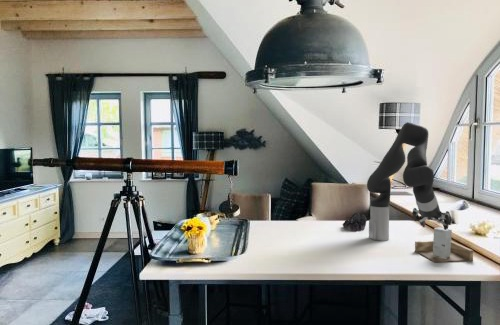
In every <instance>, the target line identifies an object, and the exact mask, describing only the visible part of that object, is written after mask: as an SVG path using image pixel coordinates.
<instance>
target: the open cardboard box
mask: <svg viewBox="0 0 500 325" xmlns="http://www.w3.org/2000/svg"><path fill="white" fill-rule="evenodd" d="M414 252H415V253H417V254H419V255H421V256H422V257H424V258H426V259H427V260H430V261H432V262H433V263H434V264H437V263H455V262H456V263H460V262H461V263H462V262H473V261H474V250H473V249H471V248H469V247H466V246H464V245H462V244H460V243H457V242H455V241H453V240H451V250H450V257H447V258H442V257H439V256H436V255H433V240H426V241H425V240H423V241H422V240H420V241H414Z"/></svg>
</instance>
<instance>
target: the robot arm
mask: <svg viewBox="0 0 500 325" xmlns="http://www.w3.org/2000/svg"><path fill="white" fill-rule="evenodd" d="M428 141H429V130H428V128H427V127H426V126H425V127H424V126H422V125H420V124H416V123H413V122H405V123H404V124H403V125H402V127H401V128H400V129H399V132H398V133H397V135H396V137H395V139H394V142H393V143H392V145H391V146H390V148H389V149H388V151H387V152H386V154H385V155H384V156H383V158H382V160H381V161H380V163H379V165H378V166H377V168H376V169H375V170H374V171H373V172H372V173H371V175H370V176H369V177H368V178H367V182H366V187H367V188H366V189H367V190H368V191H369V193H372V194H379V195H378V196H377V197H375V198H372V199H371V200H370V214H369V215H370V219H369V220H368V238H370V239H371V240H372V241H388V240H390V202H391V190H392V189H391V188H392V186H391V185H392V184H391V177H392V176H393V175H395V174H397V173H398V172H399V171H400V170H401V169H402V167H404V165H405V164H406V166H405V168H404V170H403V173H402V180H403V183H404V184H405V186H407V187H409V188H412V193H413V195H414V197H415V198H414V199H415V204H416V206H417V208H416V207H414V208H413V209H412V212H411V214H412V217H413V221H415V222H419V223H420V226H421V227H422V228H425V227H426V220H428V221H435V222H437V223H438V224H442V226H443V227H442V228H444V230H447V229H449V226H452V222H453V219H452V216H451V214H450V211H448V210H447V211H445V212H442V211H441V210H440V206H439V202H438V199H437V196H436V194H435V191H434V188H433V185H434V181H435V180H434V178H435V174H434V170H433V168H431V167H430V166H429V165H428V162H427V149H428ZM403 144H405V145H408V146H413V147H412V148H411V149H410V150H409V151H408V154H407V156H406V153H405V150H404V145H403ZM406 160H407V161H406ZM406 162H407V163H406Z"/></svg>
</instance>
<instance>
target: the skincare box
mask: <svg viewBox="0 0 500 325" xmlns="http://www.w3.org/2000/svg"><path fill="white" fill-rule="evenodd" d="M432 241H433V255H436V256H439V257H442V258H447V257H450V250H451V241H452V229H450V228H448V229H447V230H444V227H441V226H438V227H435V228H433V240H432Z"/></svg>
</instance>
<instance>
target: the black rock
mask: <svg viewBox="0 0 500 325" xmlns="http://www.w3.org/2000/svg"><path fill="white" fill-rule="evenodd" d="M367 221H368V219H367V217H366V215H365V214H360V213H359V212H355V213H353V215H351V216H350V218H349V219H346V220H344V222H343V223H342V227H343V229H344V230H347V231H348V232H359V231H360V232H361V230H362V231H365V229H366V226H367Z"/></svg>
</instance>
